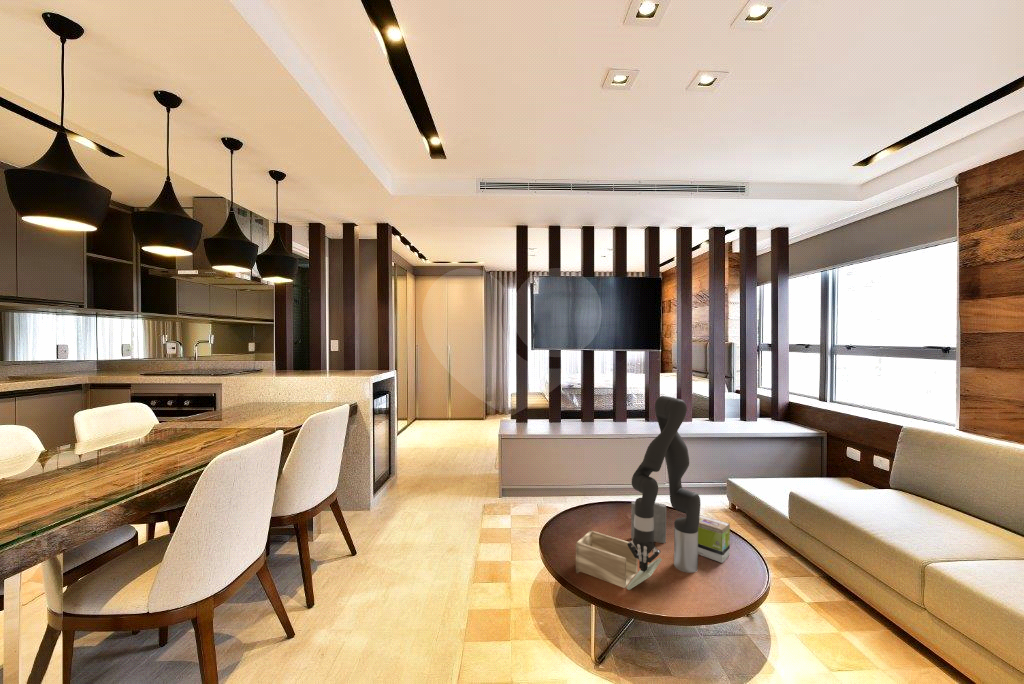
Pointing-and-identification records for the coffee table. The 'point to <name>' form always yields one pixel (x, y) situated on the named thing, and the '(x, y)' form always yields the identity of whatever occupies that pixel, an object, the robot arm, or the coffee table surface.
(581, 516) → the coffee table surface
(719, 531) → the tea box
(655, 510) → the hip flask
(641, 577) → the flat panel
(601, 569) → the box
